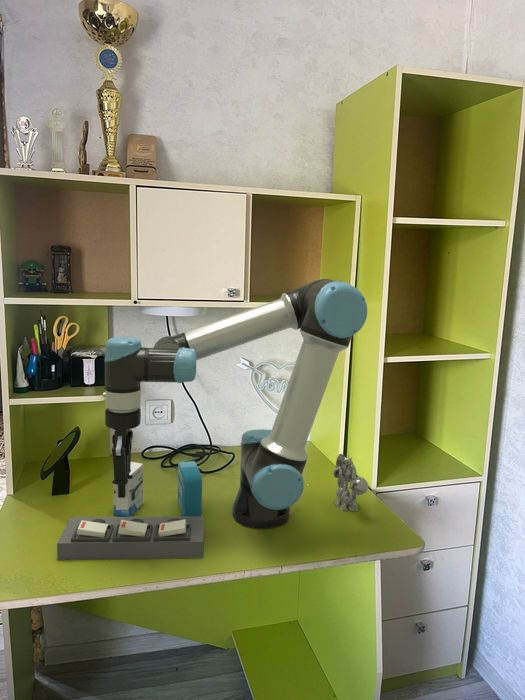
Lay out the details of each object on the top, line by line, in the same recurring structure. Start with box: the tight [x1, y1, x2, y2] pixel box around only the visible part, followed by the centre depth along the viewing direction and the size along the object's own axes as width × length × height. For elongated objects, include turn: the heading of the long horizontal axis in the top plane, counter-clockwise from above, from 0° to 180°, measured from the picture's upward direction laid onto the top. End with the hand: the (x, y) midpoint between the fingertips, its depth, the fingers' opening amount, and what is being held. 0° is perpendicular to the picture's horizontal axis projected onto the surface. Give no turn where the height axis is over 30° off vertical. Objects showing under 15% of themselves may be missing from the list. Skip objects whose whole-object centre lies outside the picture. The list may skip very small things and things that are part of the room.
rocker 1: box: [77, 520, 108, 538], centre depth 125 cm, size 6×4×1 cm, turn 95°
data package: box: [177, 460, 203, 516], centre depth 146 cm, size 12×4×12 cm, turn 17°
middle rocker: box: [118, 520, 147, 537], centre depth 126 cm, size 6×4×1 cm, turn 95°
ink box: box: [112, 461, 144, 517], centre depth 146 cm, size 8×5×12 cm, turn 168°
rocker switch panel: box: [56, 515, 205, 561], centre depth 129 cm, size 32×12×5 cm, turn 95°
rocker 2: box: [158, 519, 187, 537], centre depth 127 cm, size 6×4×1 cm, turn 95°
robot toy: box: [332, 453, 369, 512], centre depth 150 cm, size 15×6×15 cm, turn 17°
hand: (122, 508), depth 125 cm, fingers closed
